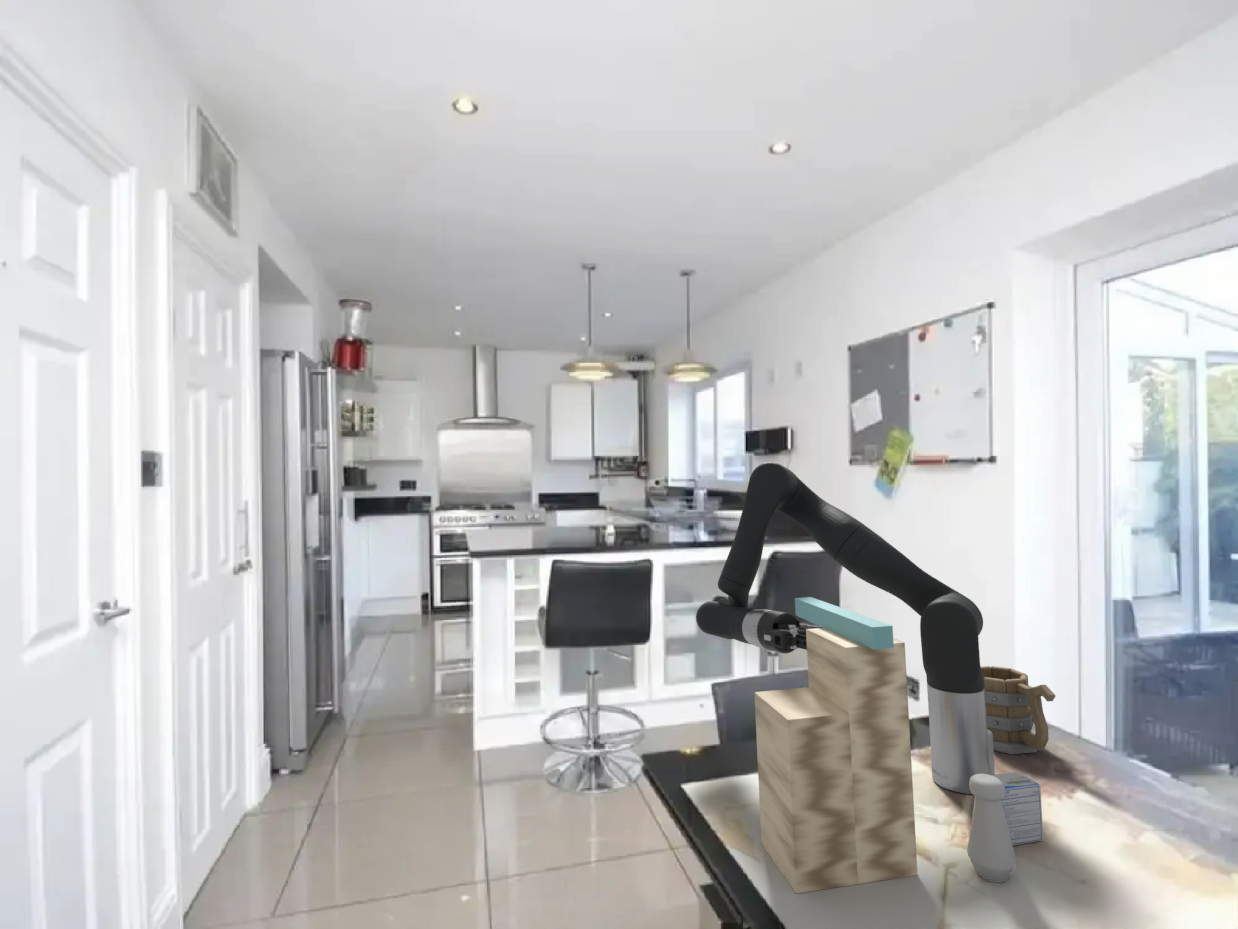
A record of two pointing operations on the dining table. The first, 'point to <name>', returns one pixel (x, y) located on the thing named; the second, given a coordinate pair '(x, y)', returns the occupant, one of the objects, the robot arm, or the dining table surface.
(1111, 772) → the dining table surface
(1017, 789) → the medicine box
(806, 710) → the block
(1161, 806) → the dining table surface
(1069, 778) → the dining table surface
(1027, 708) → the tankard
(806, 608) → the teal bar
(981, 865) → the salt shaker
